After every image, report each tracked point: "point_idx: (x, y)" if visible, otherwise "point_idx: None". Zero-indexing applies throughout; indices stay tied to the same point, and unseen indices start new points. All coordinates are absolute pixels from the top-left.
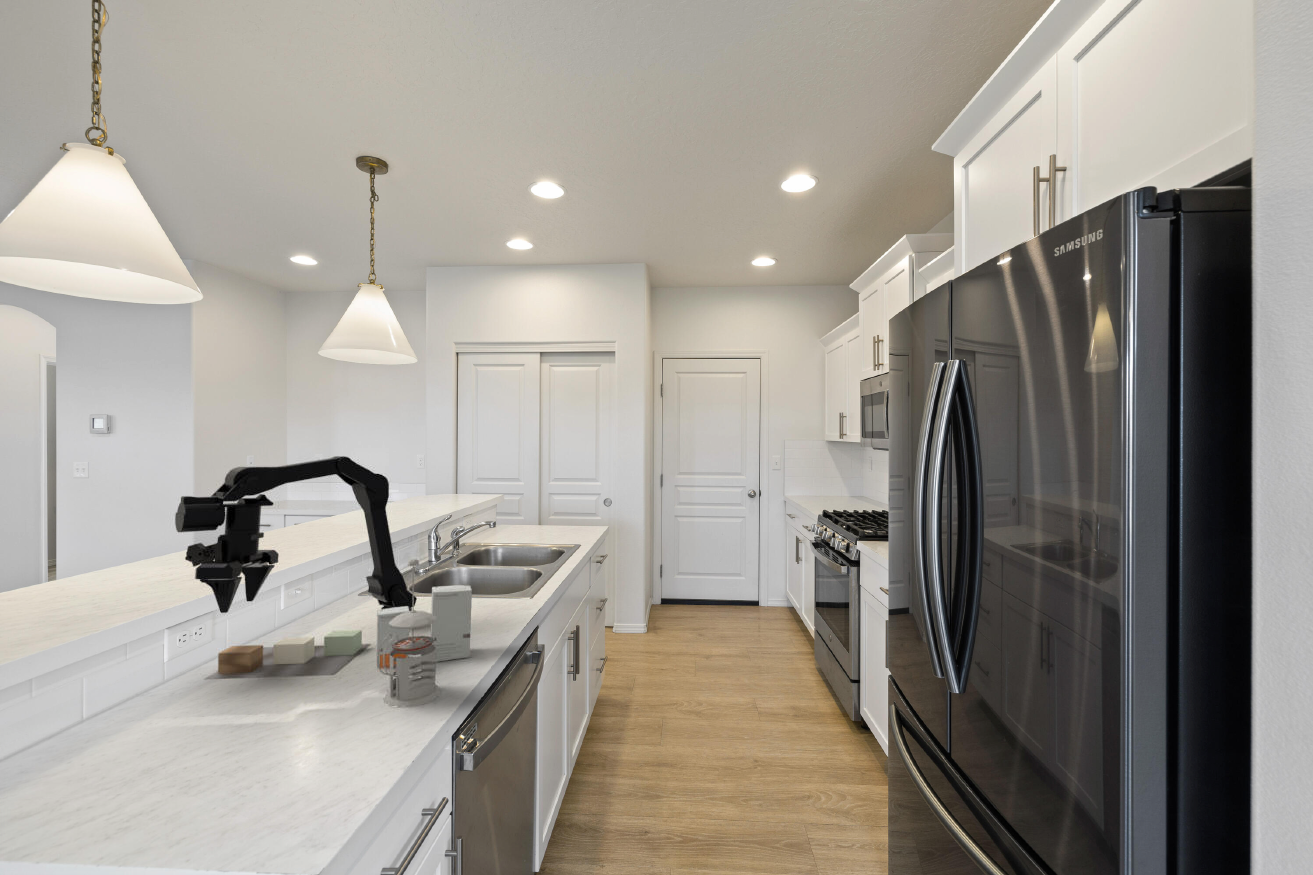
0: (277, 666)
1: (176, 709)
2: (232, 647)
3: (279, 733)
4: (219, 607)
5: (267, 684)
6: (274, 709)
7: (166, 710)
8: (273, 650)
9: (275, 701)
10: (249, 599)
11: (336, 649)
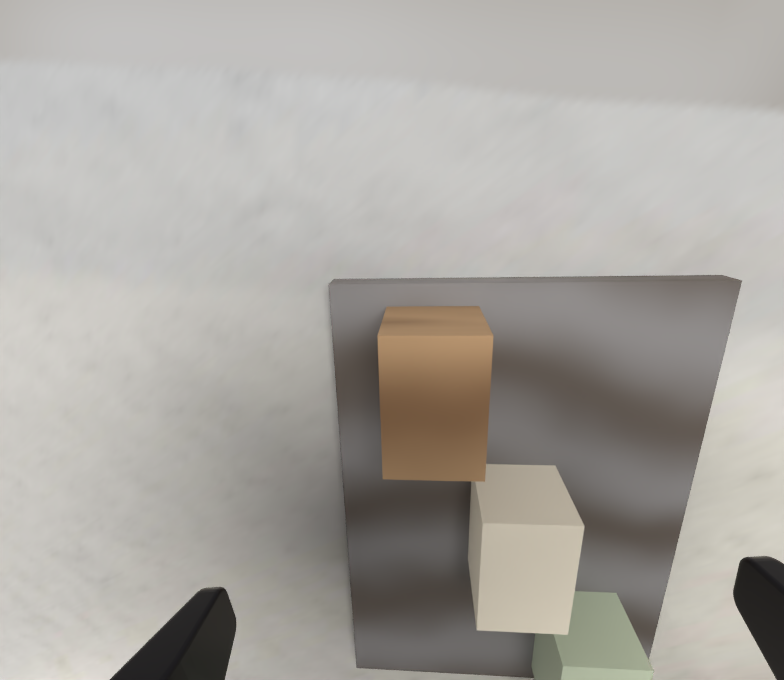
0: (446, 488)
1: (139, 327)
2: (465, 353)
3: (69, 643)
4: (153, 642)
5: (339, 492)
6: (175, 586)
7: (128, 299)
8: (478, 503)
9: (220, 568)
10: (752, 596)
11: (542, 644)
